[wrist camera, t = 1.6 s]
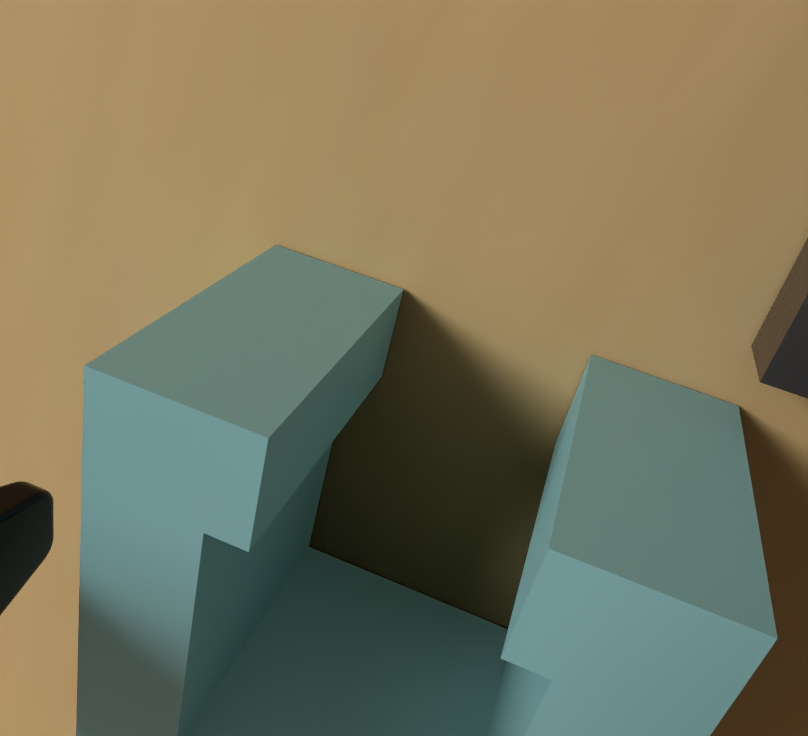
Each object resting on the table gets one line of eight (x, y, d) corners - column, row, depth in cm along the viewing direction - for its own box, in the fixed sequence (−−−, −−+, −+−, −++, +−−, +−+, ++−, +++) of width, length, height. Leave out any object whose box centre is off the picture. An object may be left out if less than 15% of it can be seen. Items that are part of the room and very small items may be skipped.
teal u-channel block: (569, 721, 13) (530, 992, 9) (225, 574, 14) (75, 768, 10) (738, 405, 9) (777, 638, 6) (276, 244, 10) (84, 365, 7)
